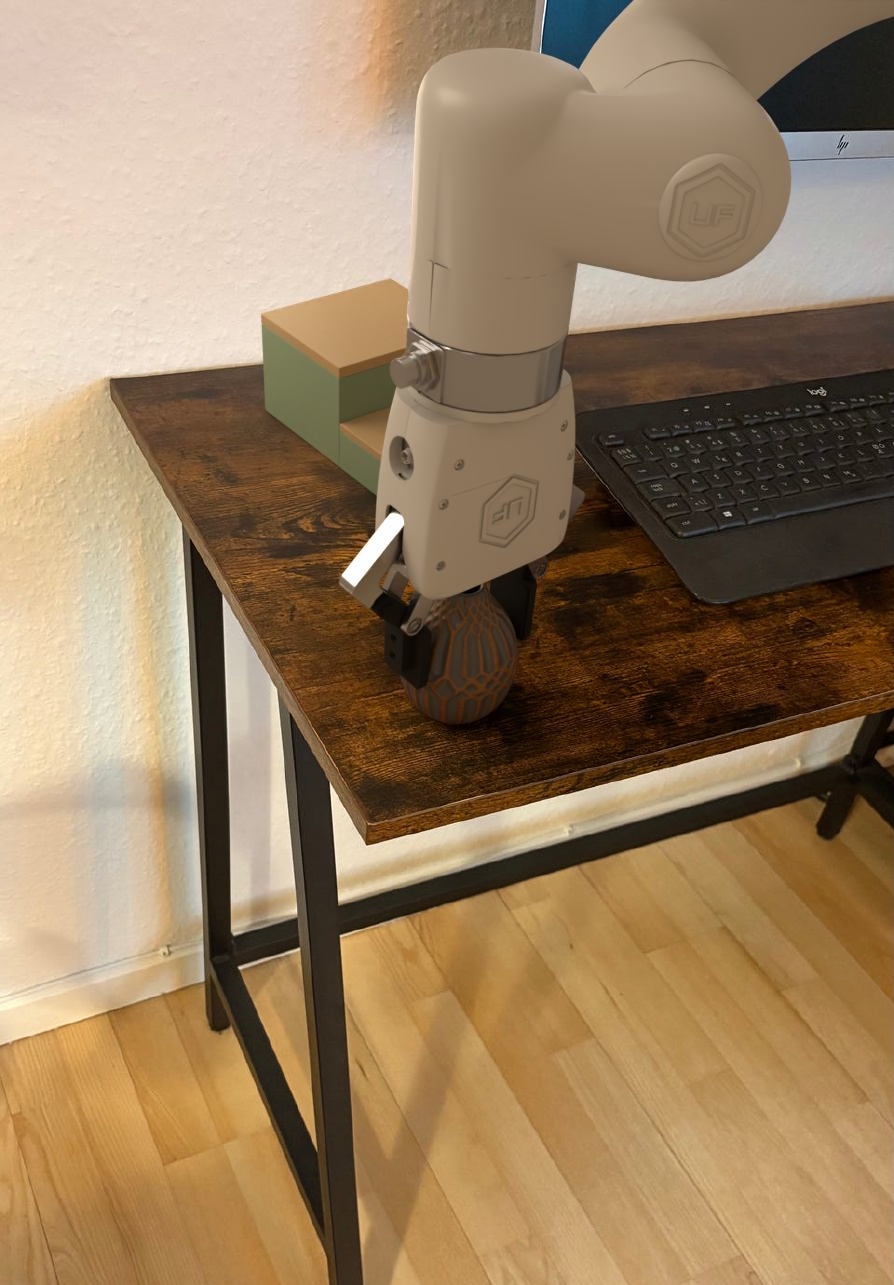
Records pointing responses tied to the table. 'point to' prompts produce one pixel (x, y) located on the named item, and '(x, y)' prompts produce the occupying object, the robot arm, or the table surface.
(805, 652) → the table surface
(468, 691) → the vase
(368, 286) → the two-step display riser
